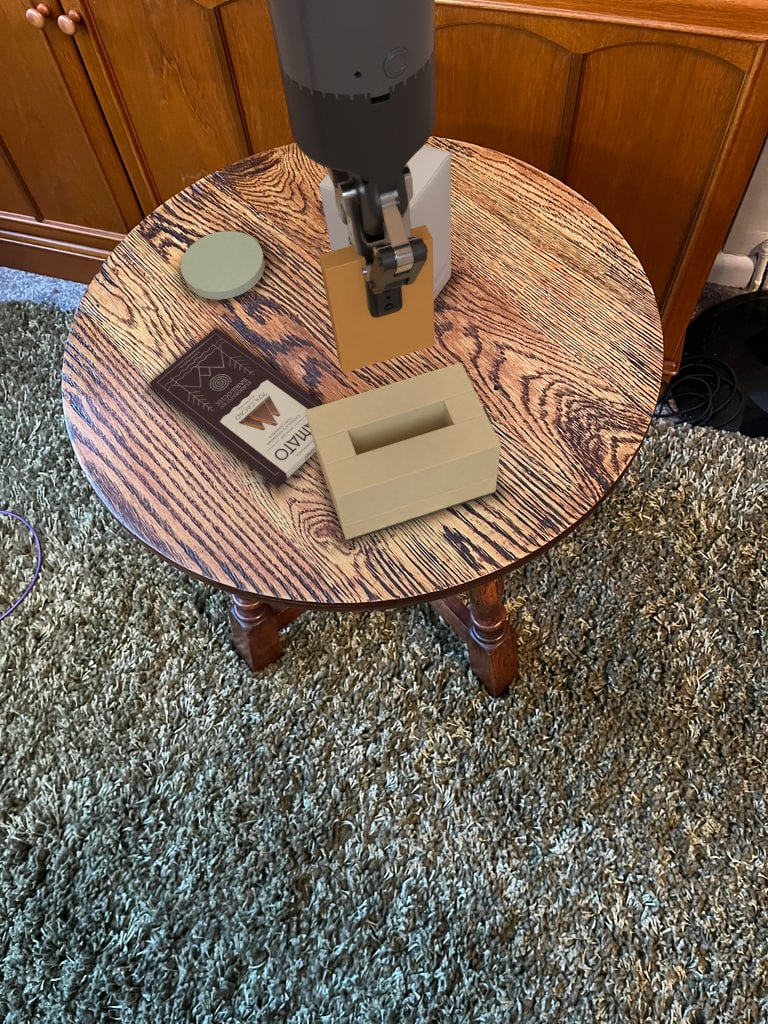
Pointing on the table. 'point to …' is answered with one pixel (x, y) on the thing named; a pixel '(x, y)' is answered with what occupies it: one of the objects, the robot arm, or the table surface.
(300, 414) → the chocolate bar
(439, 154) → the white product box
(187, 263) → the plate
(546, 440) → the table surface
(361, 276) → the toast
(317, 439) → the toaster
